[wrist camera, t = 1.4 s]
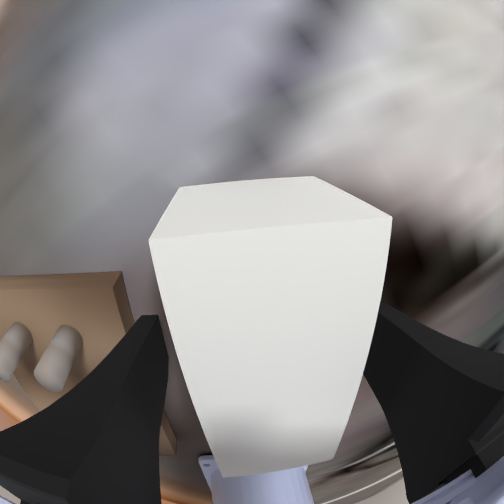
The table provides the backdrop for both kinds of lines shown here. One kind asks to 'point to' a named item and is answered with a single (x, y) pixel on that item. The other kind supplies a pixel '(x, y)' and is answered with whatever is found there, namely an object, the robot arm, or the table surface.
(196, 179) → the table surface
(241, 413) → the white rectangular block
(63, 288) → the peg board
